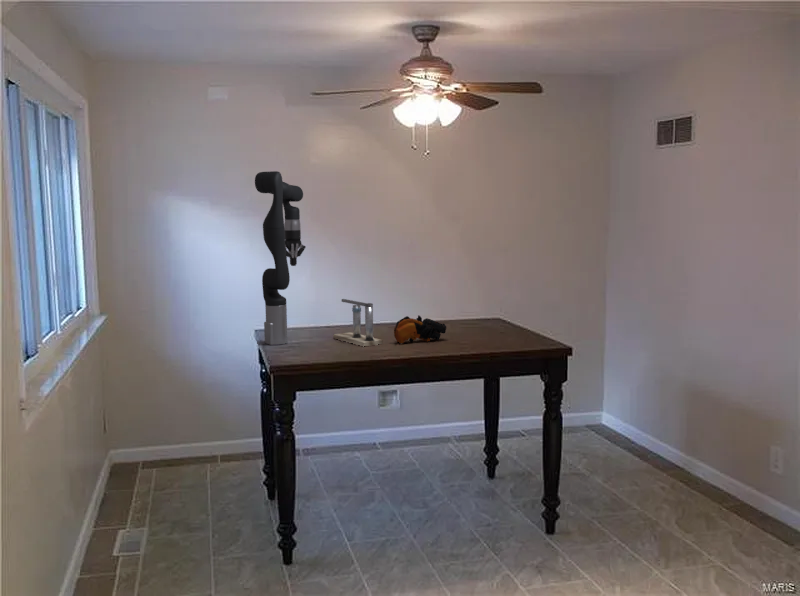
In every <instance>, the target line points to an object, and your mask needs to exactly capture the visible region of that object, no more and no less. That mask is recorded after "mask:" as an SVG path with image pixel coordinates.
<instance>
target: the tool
mask: <svg viewBox="0 0 800 596" xmlns="http://www.w3.org/2000/svg"><path fill="white" fill-rule="evenodd" d="M446 331H447V326H446V324H445V323H441V322H439V321H436V320H434V319H430V318H428V317H427V318H424V319H423V318H422V317H421V315H417V317H416V319H415V318H411V317H410V316H408V315H407V316H404V317H403V318H401V319H399V320H398V321H397V322H396V324H395V326H394V329H393V336H394V338H395V340H396V342H397V343H398V342H399V343H403V344H404V343H405V342H406V341H408V342H410V343H413V342H414V341H416V340H417V339H420V340H422V341H425V342H428V341H431V339H432V340H437V341H440V338H441V336H442V335H441V334H446ZM399 343H398V344H399Z"/></svg>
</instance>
